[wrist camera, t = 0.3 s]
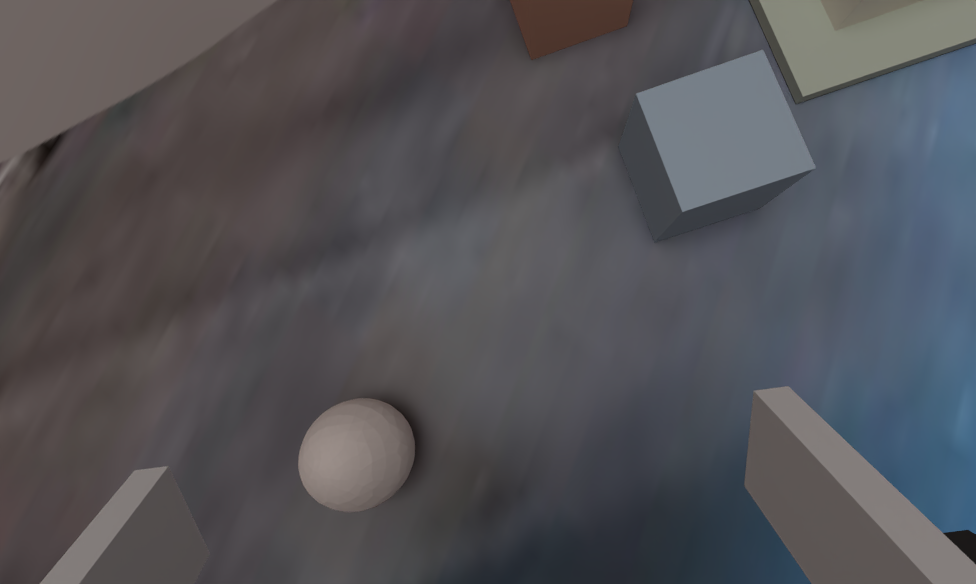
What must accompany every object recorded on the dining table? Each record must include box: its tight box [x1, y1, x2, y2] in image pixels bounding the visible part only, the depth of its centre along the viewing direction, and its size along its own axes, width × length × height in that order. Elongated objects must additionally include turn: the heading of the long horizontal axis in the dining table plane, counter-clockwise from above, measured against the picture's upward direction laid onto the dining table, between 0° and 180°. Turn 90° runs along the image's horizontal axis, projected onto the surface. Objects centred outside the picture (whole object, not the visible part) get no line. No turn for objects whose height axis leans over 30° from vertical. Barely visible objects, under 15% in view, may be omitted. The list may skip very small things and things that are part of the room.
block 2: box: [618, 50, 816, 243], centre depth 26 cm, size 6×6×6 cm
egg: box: [298, 398, 415, 512], centre depth 25 cm, size 5×5×7 cm
